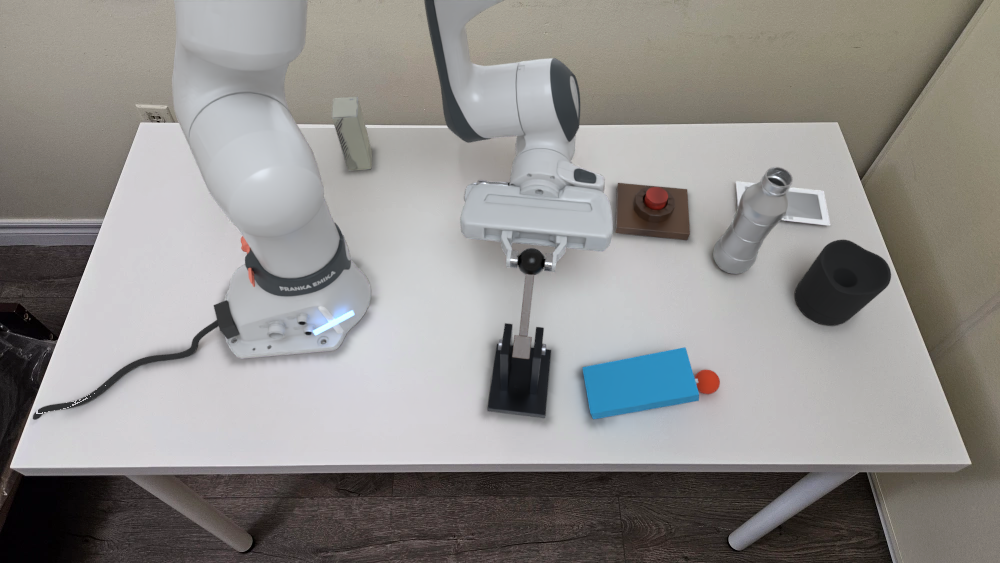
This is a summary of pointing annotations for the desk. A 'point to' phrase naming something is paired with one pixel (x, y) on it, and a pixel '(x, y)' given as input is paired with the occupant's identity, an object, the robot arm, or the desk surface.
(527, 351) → the lever
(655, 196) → the button
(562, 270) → the desk surface
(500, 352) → the bracket
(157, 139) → the desk surface
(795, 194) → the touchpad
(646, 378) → the blue block with knob
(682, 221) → the button block
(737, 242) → the plastic bottle
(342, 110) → the box
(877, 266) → the pen holder
